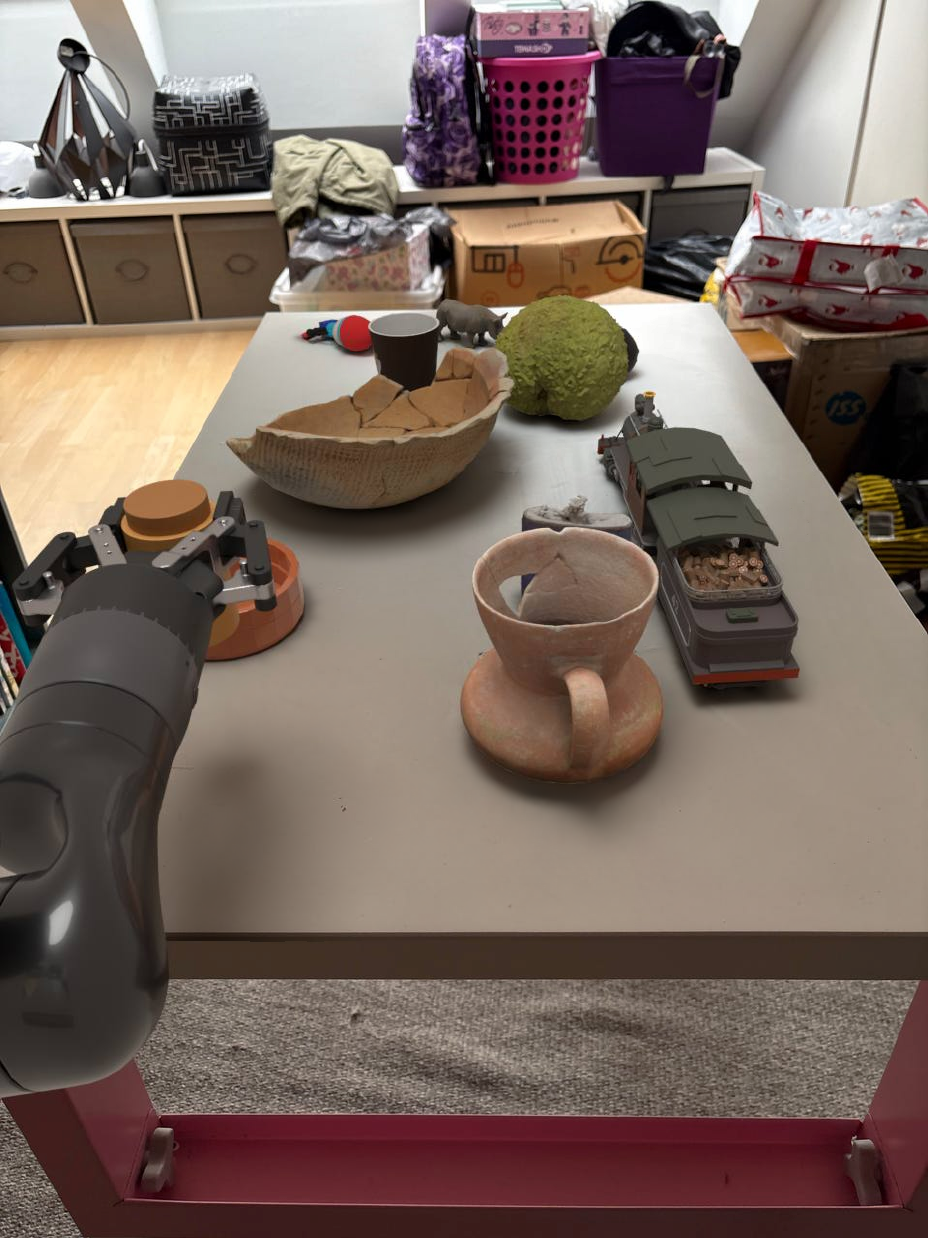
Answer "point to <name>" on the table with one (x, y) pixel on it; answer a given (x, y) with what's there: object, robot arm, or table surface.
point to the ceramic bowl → (383, 436)
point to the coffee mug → (406, 348)
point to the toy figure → (345, 332)
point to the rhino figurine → (468, 321)
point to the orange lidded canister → (173, 529)
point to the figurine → (630, 349)
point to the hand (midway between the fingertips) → (178, 507)
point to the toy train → (704, 549)
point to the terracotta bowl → (269, 625)
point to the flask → (573, 523)
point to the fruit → (564, 358)
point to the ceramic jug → (564, 657)
